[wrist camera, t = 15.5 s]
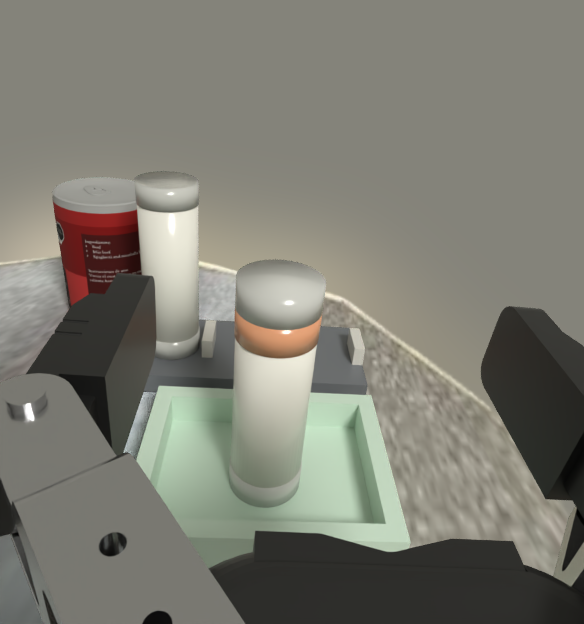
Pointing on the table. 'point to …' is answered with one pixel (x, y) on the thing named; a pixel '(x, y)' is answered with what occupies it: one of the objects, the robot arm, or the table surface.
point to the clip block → (220, 362)
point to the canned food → (96, 233)
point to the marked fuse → (272, 377)
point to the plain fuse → (171, 257)
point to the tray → (313, 479)
